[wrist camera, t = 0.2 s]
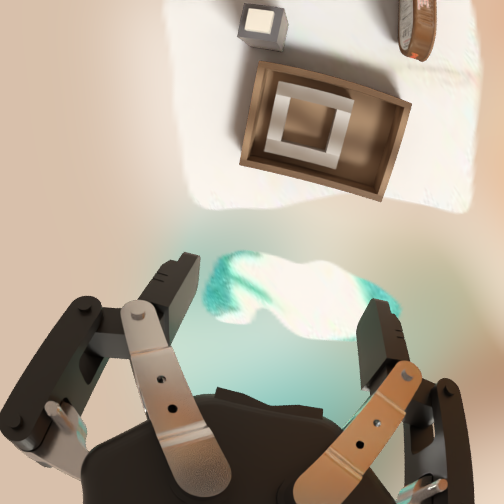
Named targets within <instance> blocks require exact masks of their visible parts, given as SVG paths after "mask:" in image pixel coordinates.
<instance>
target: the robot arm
mask: <svg viewBox="0 0 504 504" xmlns="http://www.w3.org/2000/svg"><path fill="white" fill-rule="evenodd" d="M199 269H200V256H198V255H195V254H191V253H187V252H184V253H183V254H182V255H181V257H180V258H179V260H178V261H174V260H170V261H168V262H166V263H164V264H163V265H162V266H161V267H160V269H159V270H158V271H157V273H156V274H155V276H154V277H153V279H152V280H151V281H150V282H149V284H148V285H147V287H146V288H145V289H144V291H143V292H142V294H141V295H140V297H139V298H138V300H133V301H130V302H128V303H126V304H125V305H124V306H123V307H122V308H106V307H102V305H101V302H100V301H99V300H98V299H97V298H95V297H92V296H82V297H79V298H77V299H75V300H74V301H73V302H72V303H71V304H70V306H69V307H68V308H67V310H66V311H65V313H64V314H63V315H62V317H61V318H60V319H59V321H58V322H57V324H56V325H55V326H54V328H53V329H52V330H51V332H50V333H49V335H48V336H47V338H46V339H45V341H44V342H43V343H42V345H41V346H40V348H39V349H38V351H37V353H36V354H35V355H34V357H33V359H32V360H31V362H30V363H29V365H28V366H27V368H26V369H25V371H24V373H23V374H22V376H21V377H20V379H19V381H18V382H17V384H16V386H15V387H14V389H13V391H12V392H11V394H10V396H9V398H8V399H7V401H6V403H5V405H4V407H3V409H2V410H1V412H0V430H1V432H2V434H3V435H4V436H5V437H6V438H7V439H8V440H9V441H11V442H12V443H13V444H14V445H15V446H16V447H17V448H18V449H19V450H20V451H22V452H23V453H24V454H26V455H27V456H28V457H29V458H31V459H32V460H34V461H36V462H38V463H39V464H40V465H42V466H44V467H49V468H51V467H54V468H56V469H58V470H59V471H61V472H63V473H65V474H67V475H69V476H71V477H73V478H75V479H77V480H79V481H81V483H82V489H83V504H475V503H474V482H473V471H472V460H471V451H470V444H469V437H468V430H467V425H466V419H465V413H464V409H463V403H462V399H461V394H460V390H459V388H458V386H457V385H456V383H454V382H453V381H452V380H450V379H448V378H443V379H440V380H439V381H438V382H437V383H436V384H435V383H432V382H430V381H428V380H425V379H423V378H422V374H421V371H420V370H419V368H418V367H417V366H416V365H415V364H413V363H412V362H410V359H409V354H408V350H407V346H406V342H405V340H404V334H403V332H402V331H403V330H402V326H401V323H400V321H399V320H398V318H397V317H396V315H395V314H392V313H391V311H390V307H389V303H388V302H387V301H383V300H379V299H374V298H373V299H371V300H370V302H369V304H368V306H367V308H366V310H365V311H364V313H363V315H362V317H361V319H360V321H359V323H358V326H357V330H356V336H357V346H358V356H359V366H360V379H361V390H364V391H370V396H369V397H368V399H367V400H366V401H365V402H364V403H363V405H362V406H361V407H360V408H359V409H358V411H357V412H356V413H355V414H354V416H352V417H351V419H350V420H349V421H348V422H347V423H346V424H345V425H344V426H343V427H342V428H340V427H339V426H338V425H336V423H334V422H333V421H331V420H329V419H327V418H325V417H323V409H321V408H314V407H308V406H302V405H283V406H270V405H267V404H265V403H263V402H260V401H258V400H256V399H254V398H252V397H250V396H247V395H245V394H243V393H239V392H235V391H231V390H227V389H223V388H219V387H217V389H216V393H215V394H201V395H196V396H192V393H191V391H190V389H189V386H188V384H187V382H186V379H185V377H184V375H183V372H182V370H181V367H180V365H179V363H178V360H177V358H176V355H175V352H174V350H173V348H172V347H171V346H170V345H171V343H172V341H173V339H174V337H175V335H176V333H177V331H178V329H179V326H180V324H181V322H182V320H183V318H184V316H185V314H186V312H187V310H188V308H189V306H190V304H191V302H192V300H193V298H194V296H195V294H196V291H197V287H198V280H199ZM109 358H121V359H129V360H130V364H131V368H132V371H133V375H134V378H135V382H136V385H137V388H138V392H139V395H140V398H141V402H142V405H143V408H144V411H145V414H146V417H147V421H145V422H143V423H141V424H139V425H137V426H135V427H133V428H131V429H129V430H128V431H125V432H124V433H121V434H119V435H118V436H116V437H113V438H112V439H109V440H107V441H106V442H103V443H101V444H99V445H97V446H96V447H94V448H93V449H92V450H91V451H90V452H89V451H88V450H87V449H86V444H85V443H86V437H87V428H86V425H85V423H84V422H83V420H82V419H81V415H82V413H83V411H84V408H85V406H86V404H87V402H88V400H89V398H90V396H91V394H92V391H93V390H94V388H95V386H96V384H97V381H98V380H99V378H100V376H101V373H102V371H103V370H104V368H105V366H106V364H107V362H108V360H109ZM401 421H402V422H403V425H404V452H405V484H404V487H403V488H402V489H401V491H400V492H399V494H398V497H397V499H396V501H395V500H394V499H393V497H392V496H391V495H390V493H389V492H388V491H387V489H386V488H385V487H384V486H383V484H382V483H381V481H380V480H379V479H378V477H377V476H376V475H375V473H374V472H373V471H372V469H371V468H370V465H371V464H372V463H373V461H374V460H375V459H376V457H377V456H378V455H379V453H380V452H381V451H382V449H383V448H384V446H385V445H386V444H387V442H388V440H389V439H390V438H391V436H392V435H393V433H394V432H395V430H396V429H397V427H398V426H399V424H400V423H401ZM433 423H434V427H435V438H434V437H433V426H432V424H433Z"/></svg>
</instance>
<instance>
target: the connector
mask: <svg viewBox="0 0 504 504" xmlns="http://www.w3.org/2000/svg"><path fill="white" fill-rule="evenodd" d="M288 25H289V24H288V20H287V17H286V13H285V10H284V8H278V7H271V6H263V5H255V4H246V3H244V7H243V12H242V16H241V21H240V26H239V30H238V35H237V37H238V38H240V39H241V40H242V41H244V42H245V43H247V44H248V45H249V46H251V47H256V48H262V49H268V50H274V51H280V52H283V48H284V44H285V39H286V34H287V30H288Z"/></svg>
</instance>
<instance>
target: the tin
mask: <svg viewBox="0 0 504 504" xmlns="http://www.w3.org/2000/svg"><path fill="white" fill-rule="evenodd" d="M436 22H437V6H436V0H399V20H398V42H399V48H400V51H401V53H402V54H403V55H405V56H407V57H410V58H414V59H417V60H419V61H421V62H424V61H425V60H427V58H428V57H429V55H430V53H431V51H432V49H433V45H434V41H435V36H436Z"/></svg>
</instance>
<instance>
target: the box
mask: <svg viewBox="0 0 504 504" xmlns="http://www.w3.org/2000/svg"><path fill="white" fill-rule="evenodd" d="M411 106H412V104H411V103H409V102H407V101H404V100H402V99H399V98H396V97H394V96H391V95H388V94H386V93H383V92H380V91H377V90H374V89H372V88H369V87H366V86H363V85H359V84H356V83H353V82H350V81H347V80H343V79H340V78H336V77H333V76H329V75H325V74H321V73H317V72H313V71H309V70H305V69H301V68H296V67H291V66H287V65H282V64H276V63H271V62H265V61H259V63H258V68H257V73H256V78H255V83H254V88H253V93H252V98H251V104H250V109H249V114H248V119H247V125H246V130H245V135H244V141H243V146H242V152H241V157H240V163H239V165H241V166H246V167H251V168H255V169H260V170H264V171H268V172H273V173H277V174H281V175H285V176H289V177H293V178H297V179H301V180H305V181H309V182H313V183H317V184H320V185H324V186H328V187H331V188H335V189H339V190H342V191H346V192H349V193H352V194H356V195H359V196H362V197H366V198H369V199H373V200H376V201H379V202H381V201H382V199H383V196H384V193H385V190H386V187H387V185H388V182H389V179H390V176H391V173H392V170H393V167H394V164H395V161H396V158H397V154H398V151H399V148H400V145H401V141H402V138H403V135H404V131H405V128H406V124H407V121H408V117H409V113H410V110H411Z"/></svg>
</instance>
